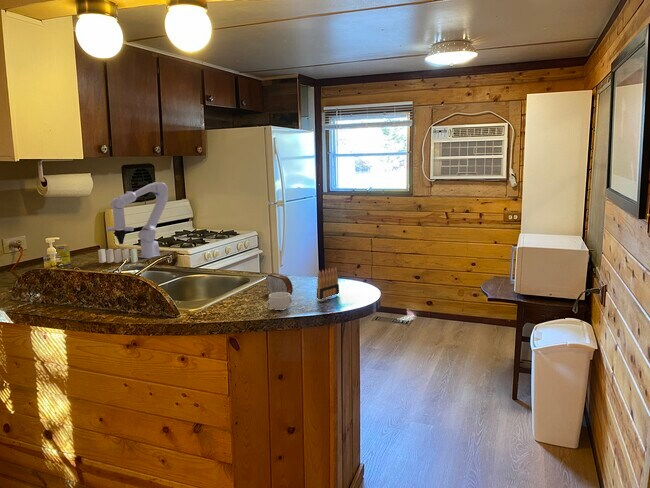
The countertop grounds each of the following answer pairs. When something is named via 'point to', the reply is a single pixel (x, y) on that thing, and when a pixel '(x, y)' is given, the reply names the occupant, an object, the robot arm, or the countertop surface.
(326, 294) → the ammunition clip
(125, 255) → the domino
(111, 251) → the domino
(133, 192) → the robot arm
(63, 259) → the supplement box
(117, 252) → the domino
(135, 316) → the countertop surface
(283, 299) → the teacup
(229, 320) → the countertop surface
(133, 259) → the domino
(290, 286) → the grey brown rounded slab
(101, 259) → the domino
